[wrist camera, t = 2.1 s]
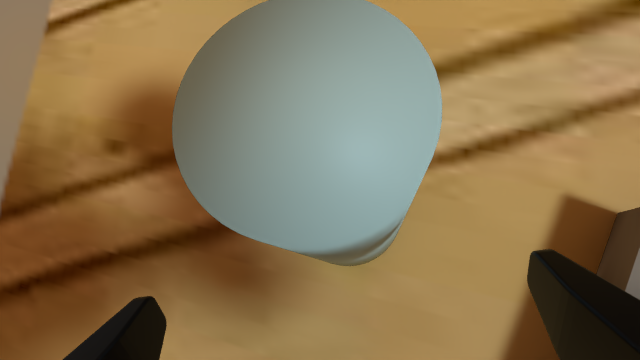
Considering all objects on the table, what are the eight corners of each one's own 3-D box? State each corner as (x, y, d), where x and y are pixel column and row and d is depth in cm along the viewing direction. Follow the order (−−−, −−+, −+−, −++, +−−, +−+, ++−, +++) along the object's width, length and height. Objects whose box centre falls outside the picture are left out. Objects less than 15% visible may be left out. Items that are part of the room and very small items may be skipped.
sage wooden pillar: (336, 288, 19) (262, 308, 7) (276, 202, 21) (129, 91, 8) (423, 223, 19) (505, 127, 7) (358, 143, 21) (330, -52, 9)
